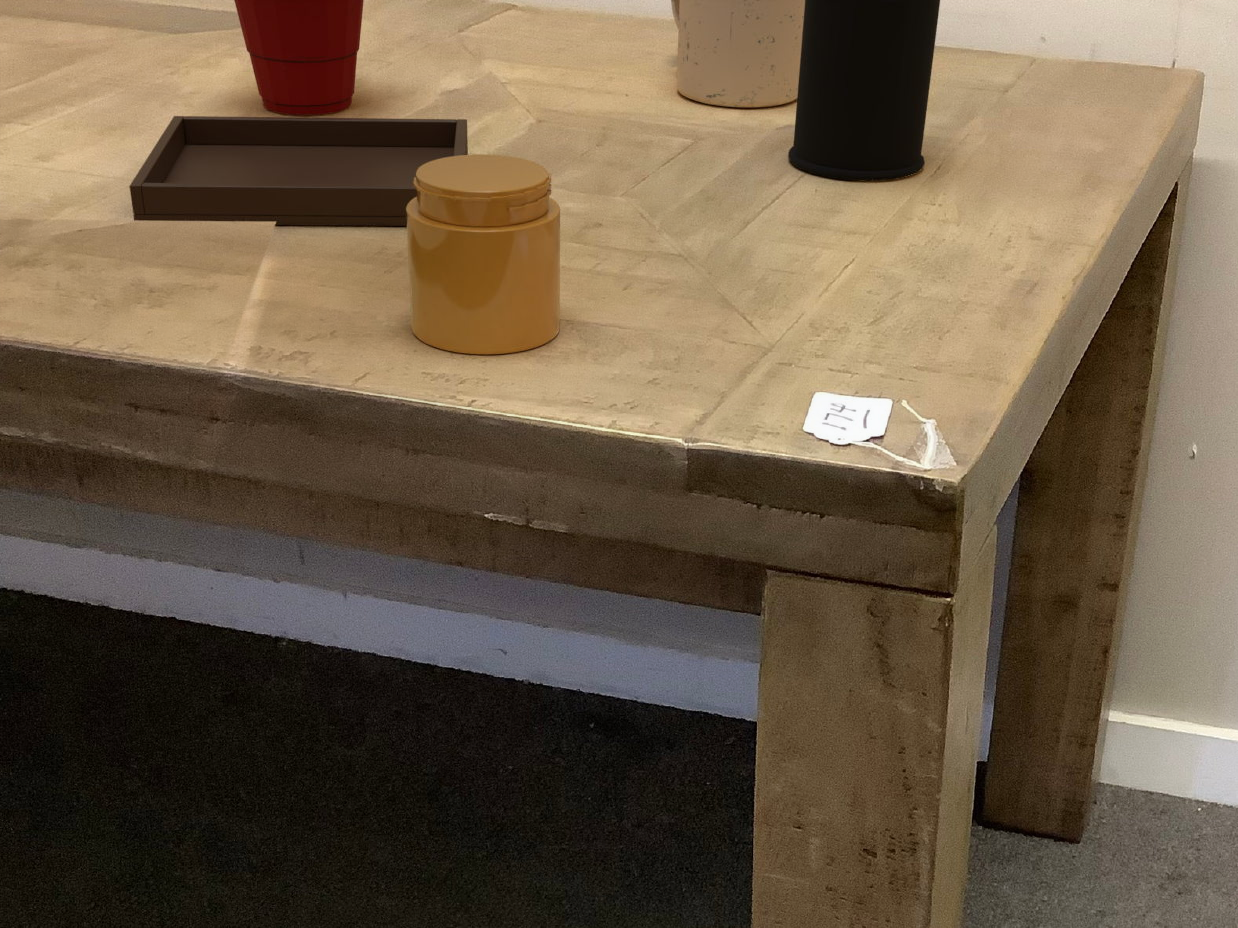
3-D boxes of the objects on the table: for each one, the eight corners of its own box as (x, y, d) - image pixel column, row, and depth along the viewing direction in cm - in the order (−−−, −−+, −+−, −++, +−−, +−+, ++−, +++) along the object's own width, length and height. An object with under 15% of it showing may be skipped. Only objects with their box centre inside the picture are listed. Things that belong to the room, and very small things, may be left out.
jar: (408, 354, 74) (399, 194, 70) (415, 301, 80) (407, 150, 76) (561, 355, 75) (562, 195, 71) (558, 302, 80) (558, 151, 76)
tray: (134, 224, 88) (129, 185, 87) (178, 150, 100) (173, 115, 99) (462, 226, 89) (461, 188, 88) (468, 153, 101) (467, 119, 100)
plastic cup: (222, 129, 104) (199, -85, 97) (222, 87, 113) (201, -113, 106) (398, 125, 106) (388, -86, 99) (385, 84, 115) (374, -113, 108)
